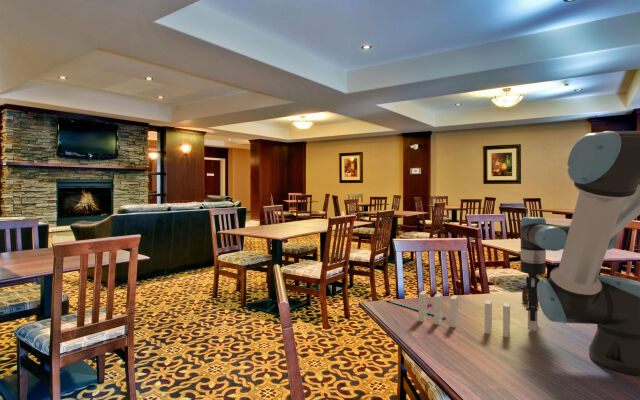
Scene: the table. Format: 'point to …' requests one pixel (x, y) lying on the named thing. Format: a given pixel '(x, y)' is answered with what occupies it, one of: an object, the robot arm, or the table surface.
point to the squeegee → (418, 309)
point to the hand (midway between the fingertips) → (532, 324)
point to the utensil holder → (526, 293)
